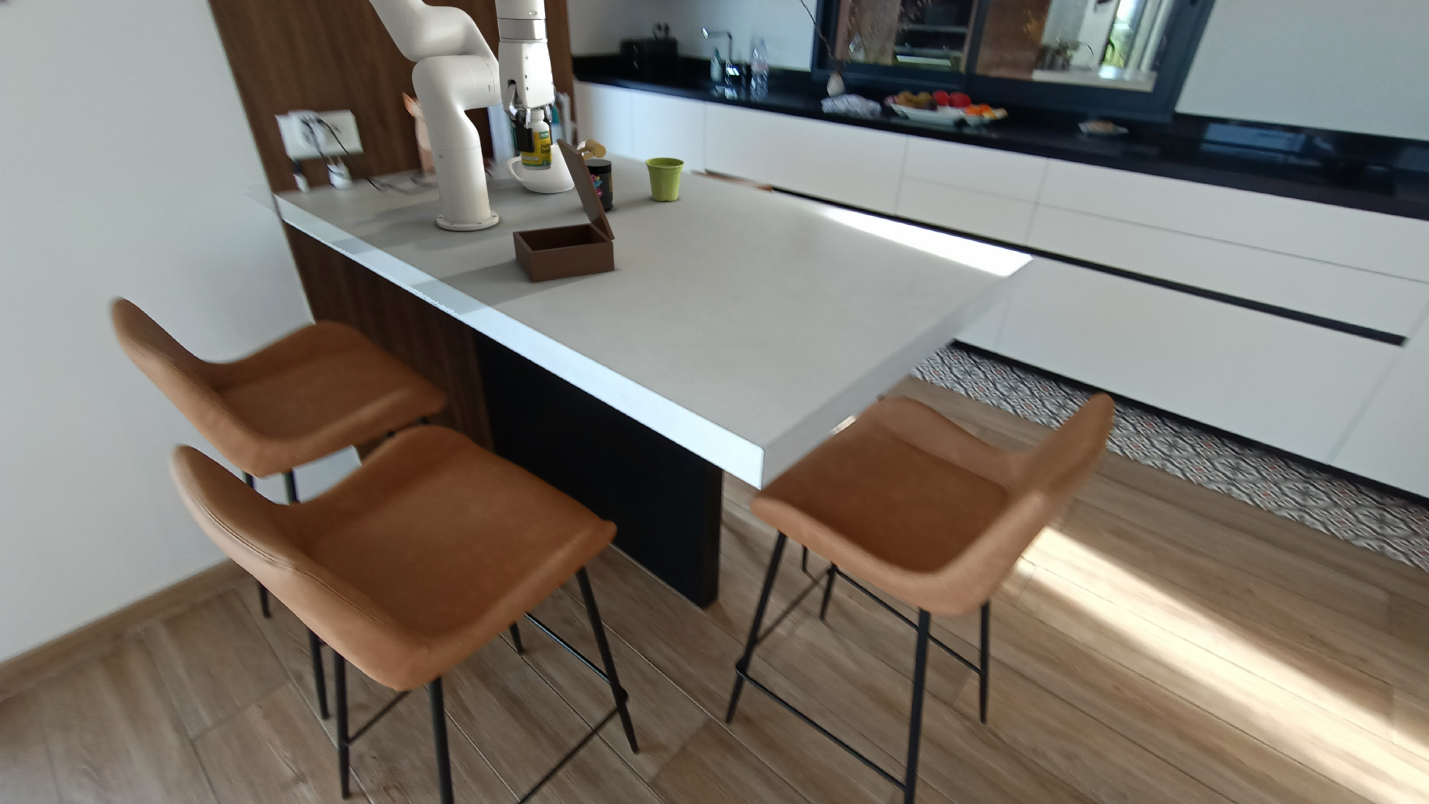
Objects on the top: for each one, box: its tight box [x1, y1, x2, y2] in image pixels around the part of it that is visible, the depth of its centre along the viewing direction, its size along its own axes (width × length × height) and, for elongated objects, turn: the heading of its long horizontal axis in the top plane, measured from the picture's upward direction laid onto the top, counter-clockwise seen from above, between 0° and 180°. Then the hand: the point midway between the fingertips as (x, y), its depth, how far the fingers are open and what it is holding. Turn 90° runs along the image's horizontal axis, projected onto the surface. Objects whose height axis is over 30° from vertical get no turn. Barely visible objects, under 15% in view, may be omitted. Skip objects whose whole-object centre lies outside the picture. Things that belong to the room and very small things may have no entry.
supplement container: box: [584, 158, 614, 213], centre depth 150 cm, size 7×7×10 cm
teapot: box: [505, 140, 587, 194], centre depth 163 cm, size 25×16×12 cm, turn 139°
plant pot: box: [644, 157, 685, 202], centre depth 160 cm, size 9×9×9 cm
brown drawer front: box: [555, 138, 616, 242], centre depth 118 cm, size 16×12×6 cm
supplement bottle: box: [519, 108, 552, 171], centre depth 116 cm, size 5×5×10 cm
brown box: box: [512, 222, 615, 283], centre depth 121 cm, size 15×12×5 cm
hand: (535, 147), depth 117 cm, fingers closed on supplement bottle, 5 cm apart
